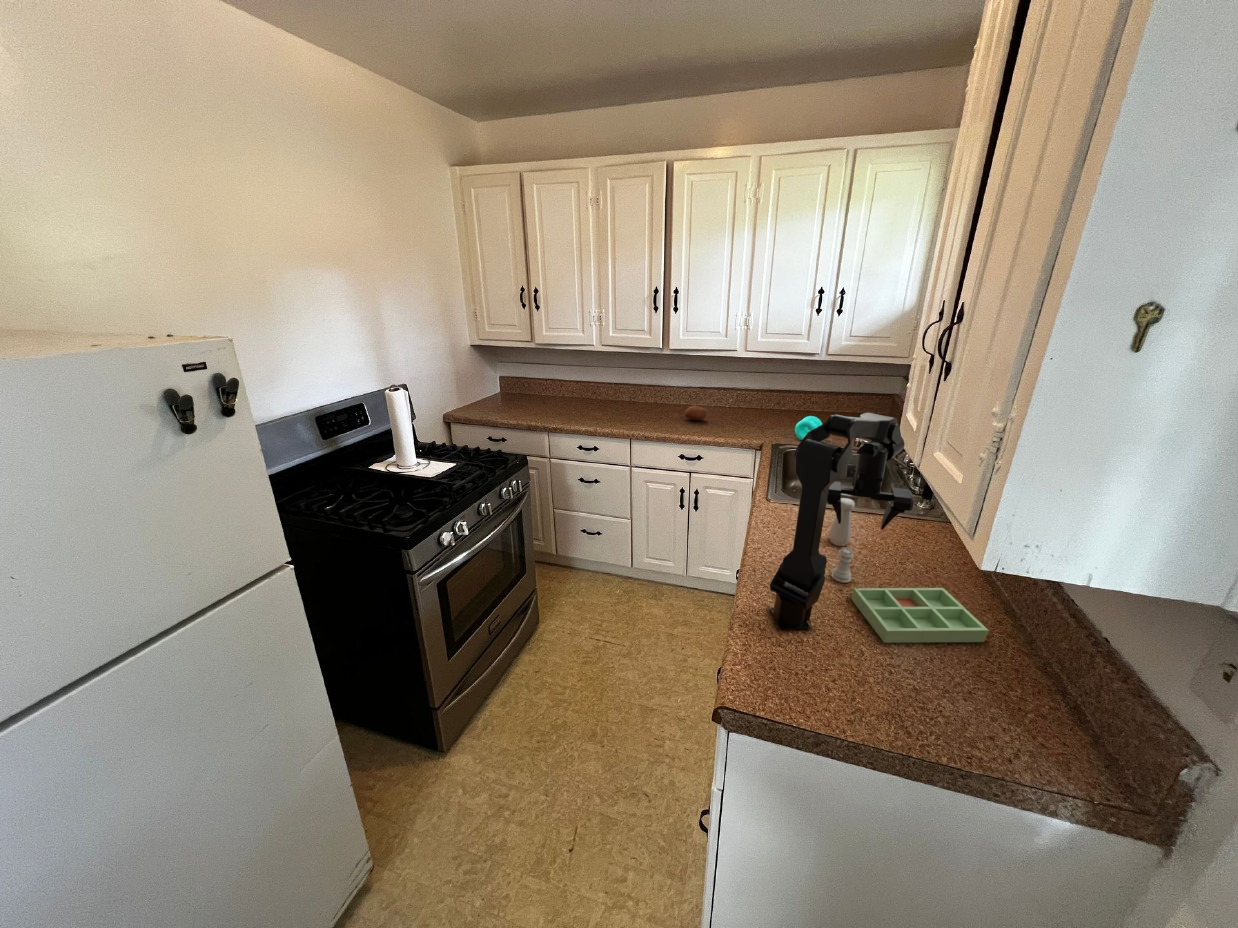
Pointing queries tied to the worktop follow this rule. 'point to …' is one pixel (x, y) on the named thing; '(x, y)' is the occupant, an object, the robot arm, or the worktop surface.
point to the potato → (695, 413)
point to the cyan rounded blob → (803, 424)
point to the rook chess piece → (843, 566)
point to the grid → (917, 615)
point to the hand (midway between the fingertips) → (860, 525)
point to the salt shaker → (842, 524)
